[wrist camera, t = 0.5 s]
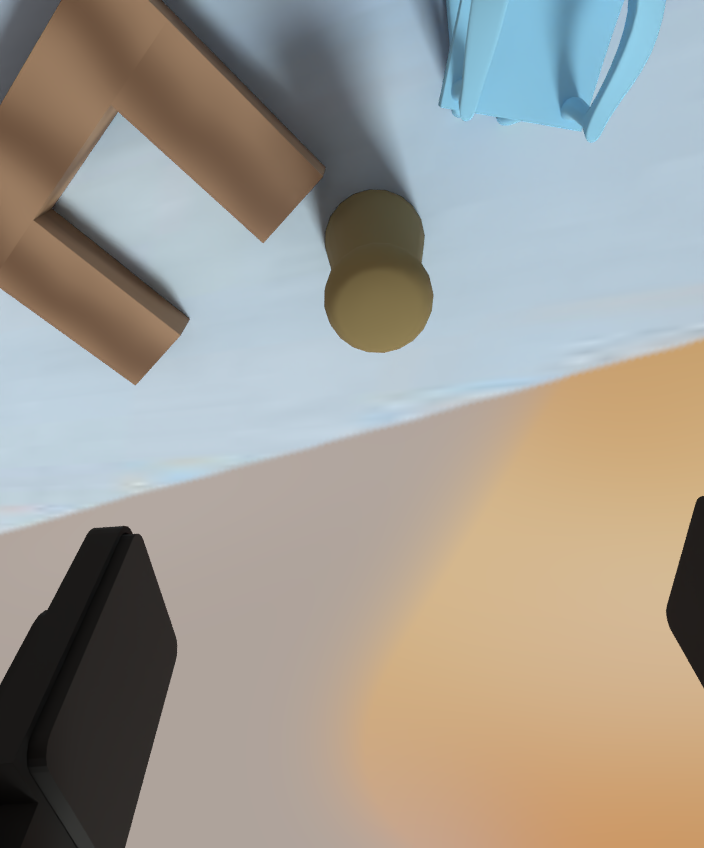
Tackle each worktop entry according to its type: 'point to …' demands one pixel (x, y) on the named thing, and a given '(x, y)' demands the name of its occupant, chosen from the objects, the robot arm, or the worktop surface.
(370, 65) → the worktop surface
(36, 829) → the robot arm
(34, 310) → the notched board
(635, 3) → the chair
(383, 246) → the cork
